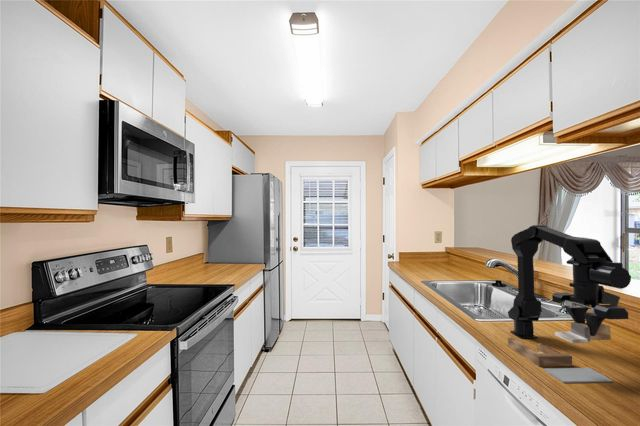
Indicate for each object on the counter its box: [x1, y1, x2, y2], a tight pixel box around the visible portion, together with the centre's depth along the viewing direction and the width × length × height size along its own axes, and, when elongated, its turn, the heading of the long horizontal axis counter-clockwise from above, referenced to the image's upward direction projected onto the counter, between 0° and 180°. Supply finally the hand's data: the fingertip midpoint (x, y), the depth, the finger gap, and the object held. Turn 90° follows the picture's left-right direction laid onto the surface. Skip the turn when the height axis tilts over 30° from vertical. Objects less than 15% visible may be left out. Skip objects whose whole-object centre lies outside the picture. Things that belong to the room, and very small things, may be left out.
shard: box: [535, 342, 562, 354], centre depth 100 cm, size 11×8×2 cm
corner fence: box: [507, 336, 573, 367], centre depth 98 cm, size 14×10×3 cm
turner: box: [554, 321, 612, 344], centre depth 88 cm, size 13×6×4 cm, turn 92°
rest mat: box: [543, 367, 613, 384], centre depth 86 cm, size 7×14×1 cm, turn 91°
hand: (587, 333), depth 88 cm, fingers closed on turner, 3 cm apart
